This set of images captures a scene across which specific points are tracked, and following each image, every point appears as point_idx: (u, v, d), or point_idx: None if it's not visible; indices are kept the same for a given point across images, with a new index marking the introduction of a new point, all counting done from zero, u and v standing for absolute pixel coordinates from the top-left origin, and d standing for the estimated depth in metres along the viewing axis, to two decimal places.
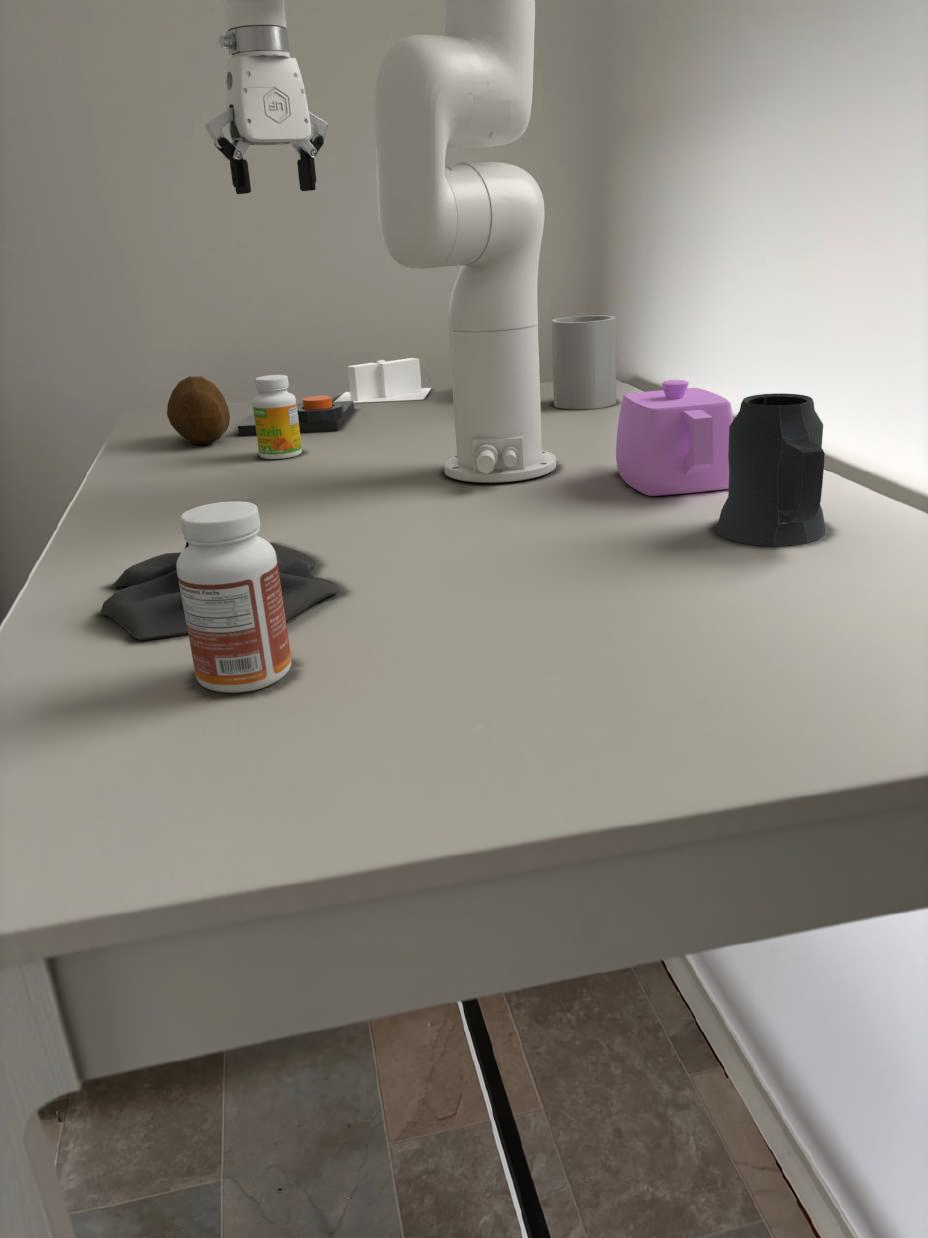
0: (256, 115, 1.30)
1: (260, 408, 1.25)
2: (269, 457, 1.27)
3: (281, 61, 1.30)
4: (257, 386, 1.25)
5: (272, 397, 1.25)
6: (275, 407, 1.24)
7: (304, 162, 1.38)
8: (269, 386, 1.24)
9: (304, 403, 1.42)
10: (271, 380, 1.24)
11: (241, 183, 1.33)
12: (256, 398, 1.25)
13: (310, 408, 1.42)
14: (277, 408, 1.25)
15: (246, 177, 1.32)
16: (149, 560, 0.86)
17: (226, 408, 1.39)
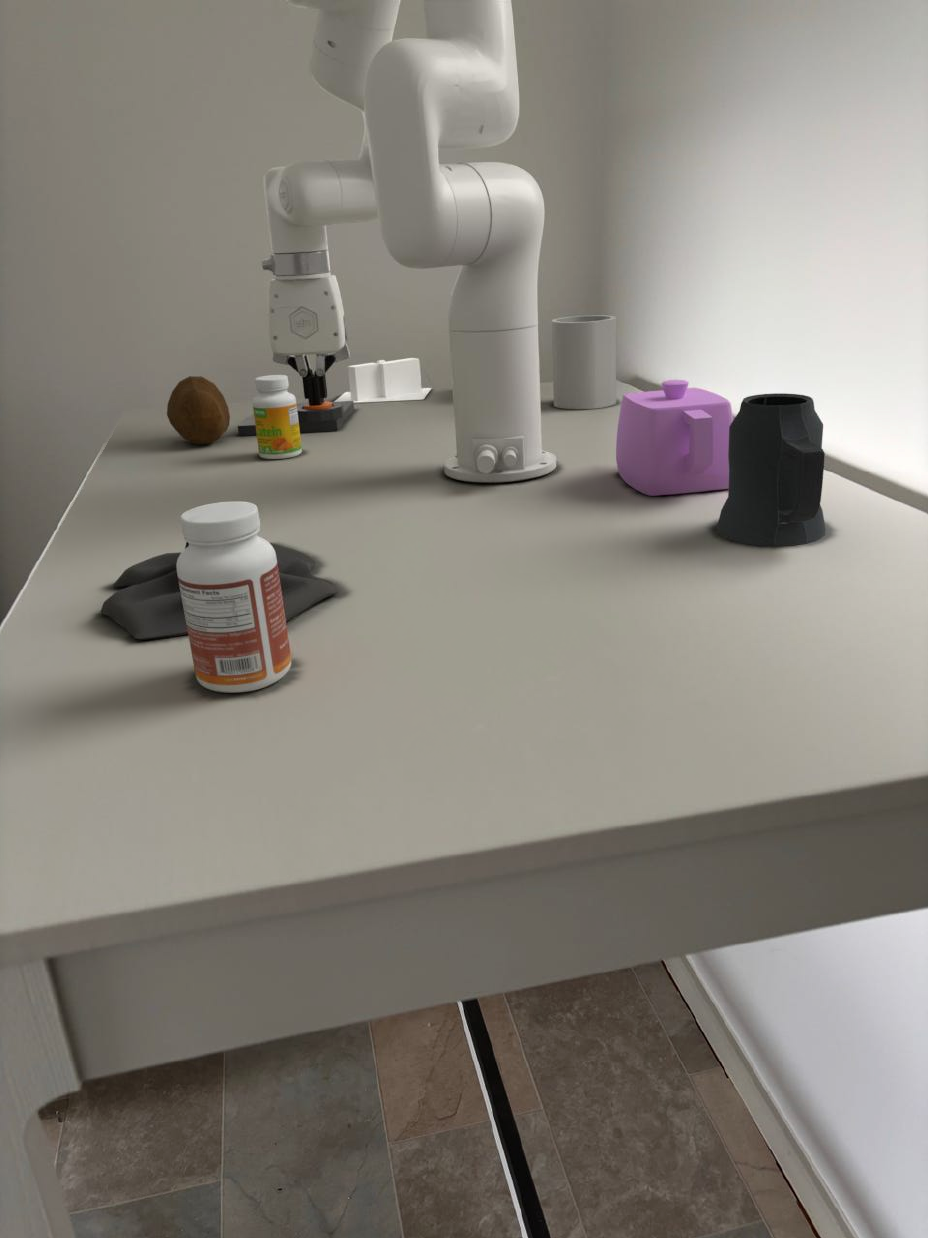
0: (282, 332, 1.38)
1: (260, 408, 1.25)
2: (269, 457, 1.27)
3: (310, 282, 1.35)
4: (257, 386, 1.25)
5: (272, 397, 1.25)
6: (275, 407, 1.24)
7: None
8: (269, 386, 1.24)
9: None
10: (271, 380, 1.24)
11: (307, 396, 1.43)
12: (256, 398, 1.25)
13: None
14: (277, 408, 1.25)
15: (309, 392, 1.42)
16: (149, 560, 0.86)
17: (226, 408, 1.39)
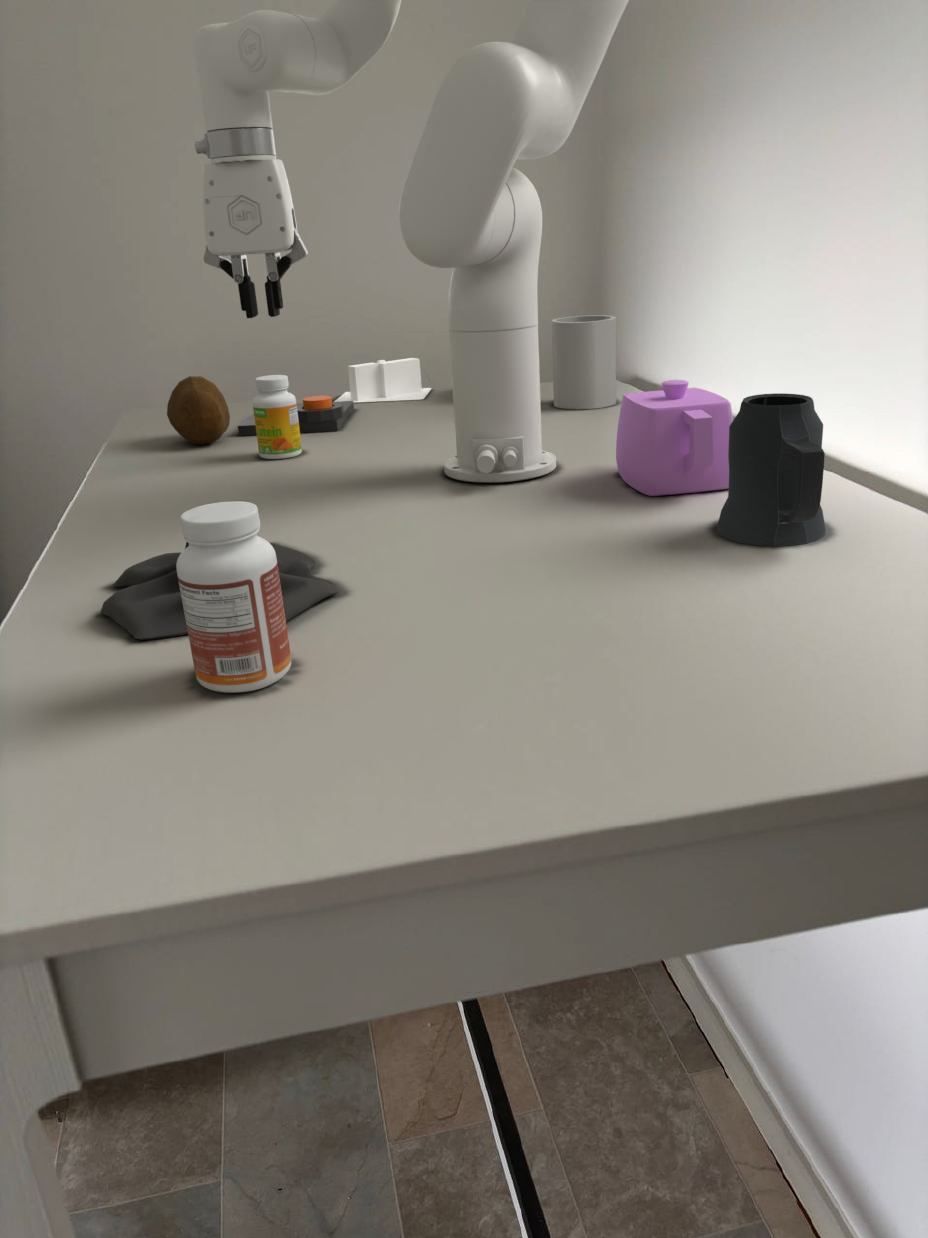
0: (220, 227, 1.17)
1: (260, 408, 1.25)
2: (269, 457, 1.27)
3: (251, 166, 1.14)
4: (257, 386, 1.25)
5: (272, 397, 1.25)
6: (275, 407, 1.24)
7: None
8: (269, 386, 1.24)
9: (304, 403, 1.42)
10: (271, 380, 1.24)
11: (245, 307, 1.22)
12: (256, 398, 1.25)
13: (310, 408, 1.42)
14: (277, 408, 1.25)
15: (246, 302, 1.21)
16: (149, 560, 0.86)
17: (226, 408, 1.39)
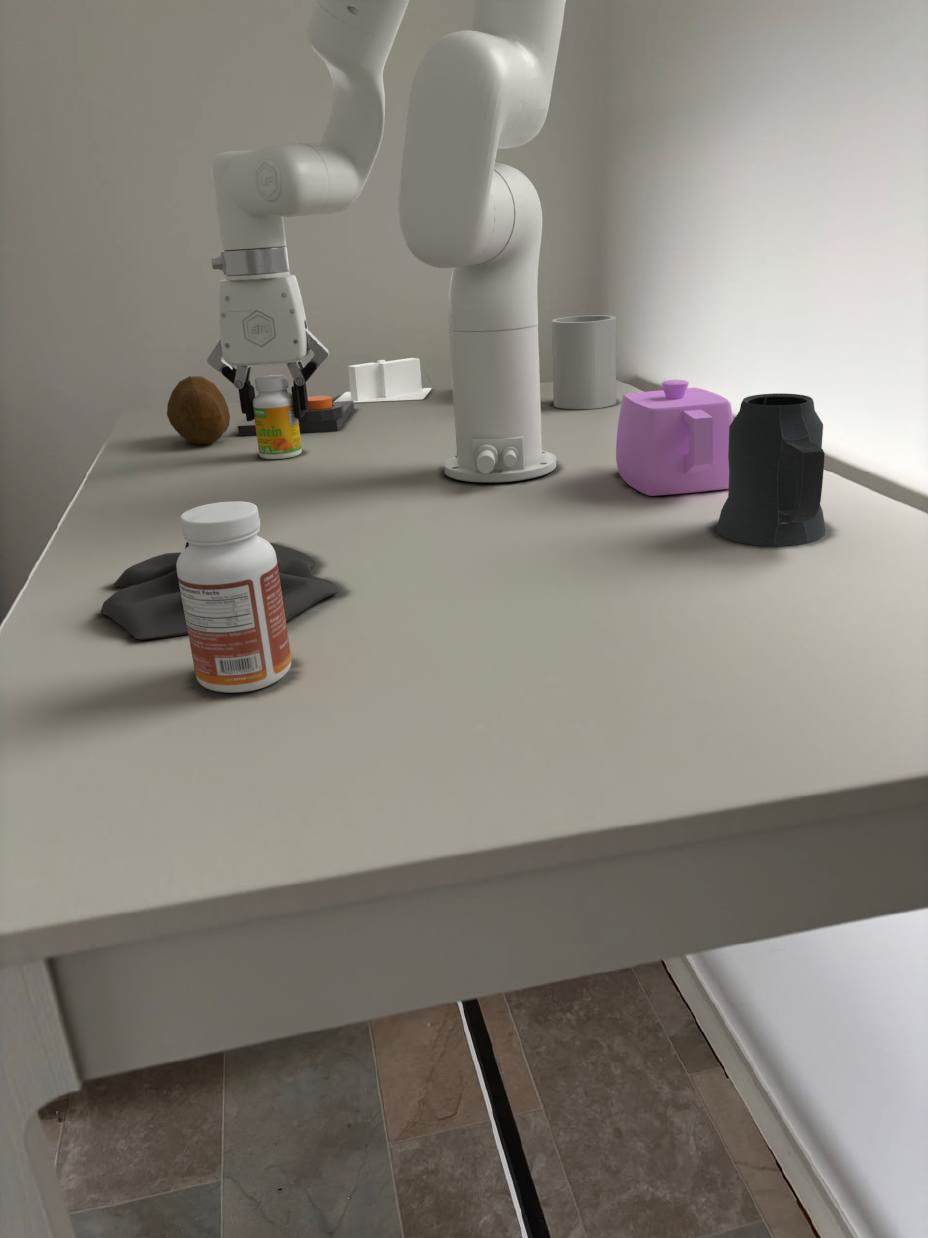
0: (235, 340, 1.22)
1: (260, 408, 1.25)
2: (269, 457, 1.27)
3: (266, 283, 1.19)
4: (257, 386, 1.25)
5: (272, 397, 1.25)
6: (275, 407, 1.24)
7: None
8: (269, 386, 1.24)
9: None
10: (271, 380, 1.24)
11: (245, 411, 1.27)
12: (256, 398, 1.25)
13: (310, 408, 1.42)
14: (277, 408, 1.25)
15: (246, 406, 1.26)
16: (149, 560, 0.86)
17: (226, 408, 1.39)
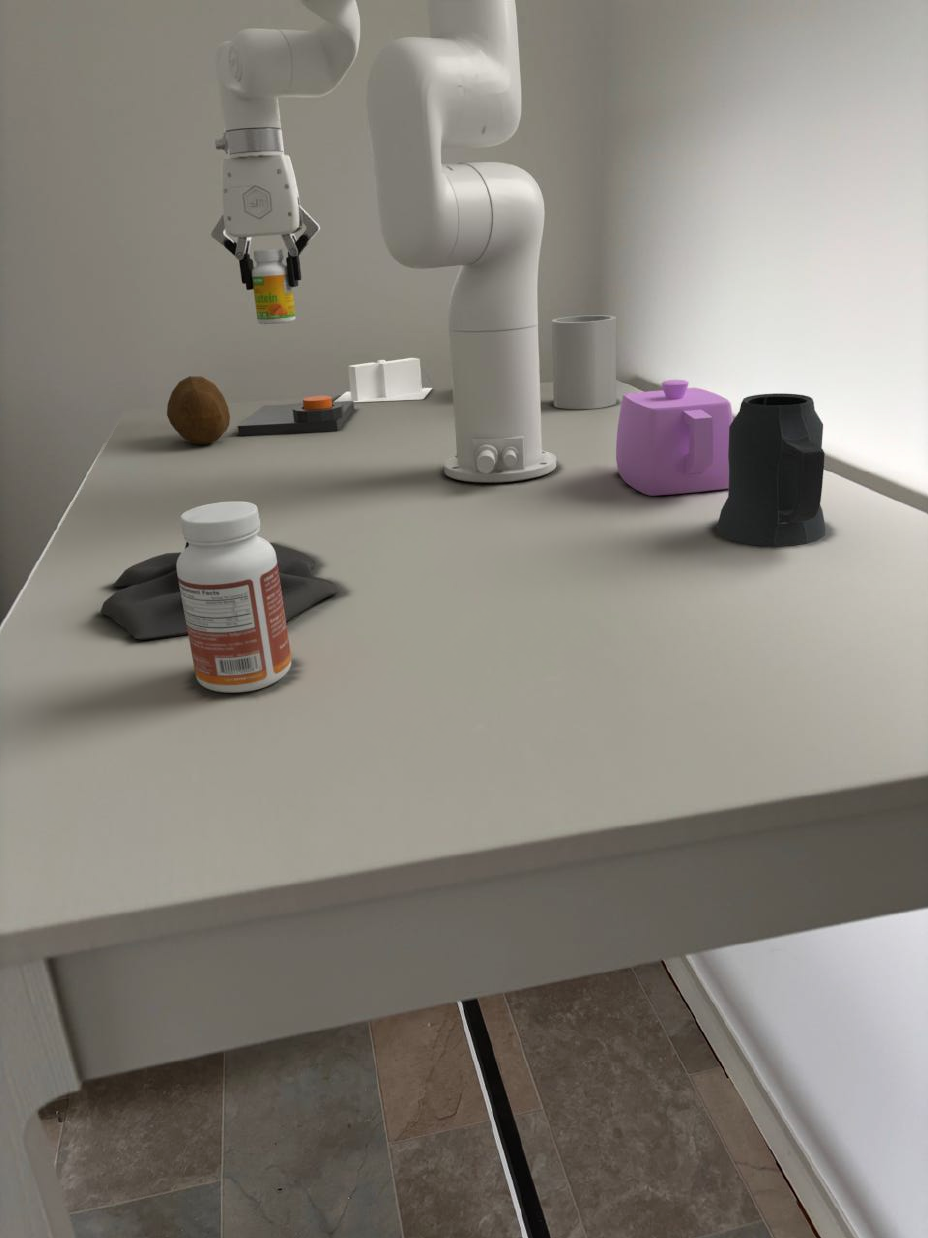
0: (236, 212, 1.37)
1: (258, 276, 1.40)
2: (266, 322, 1.43)
3: (263, 160, 1.35)
4: (255, 257, 1.41)
5: (269, 266, 1.40)
6: (272, 275, 1.40)
7: None
8: (266, 256, 1.40)
9: (304, 403, 1.42)
10: (268, 250, 1.40)
11: (245, 280, 1.42)
12: (254, 268, 1.41)
13: (310, 408, 1.42)
14: (273, 276, 1.40)
15: (246, 276, 1.41)
16: (149, 560, 0.86)
17: (226, 408, 1.39)
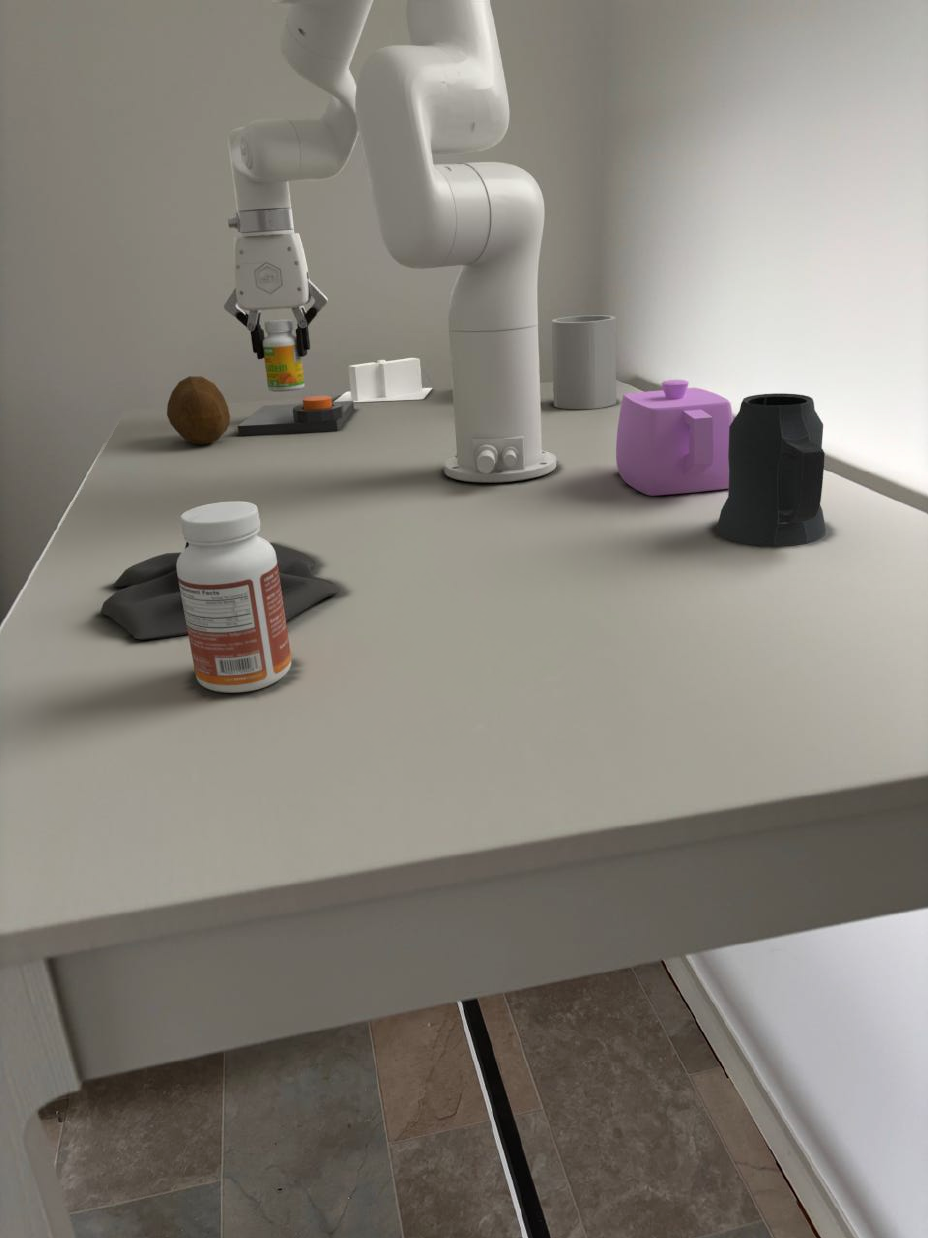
0: (248, 287, 1.43)
1: (269, 347, 1.47)
2: (276, 390, 1.49)
3: (274, 239, 1.41)
4: (266, 328, 1.47)
5: (279, 337, 1.46)
6: (282, 345, 1.46)
7: None
8: (276, 327, 1.46)
9: (304, 403, 1.42)
10: (278, 323, 1.46)
11: (256, 350, 1.48)
12: (265, 339, 1.47)
13: (310, 408, 1.42)
14: (283, 347, 1.46)
15: (257, 346, 1.47)
16: (149, 560, 0.86)
17: (226, 408, 1.39)
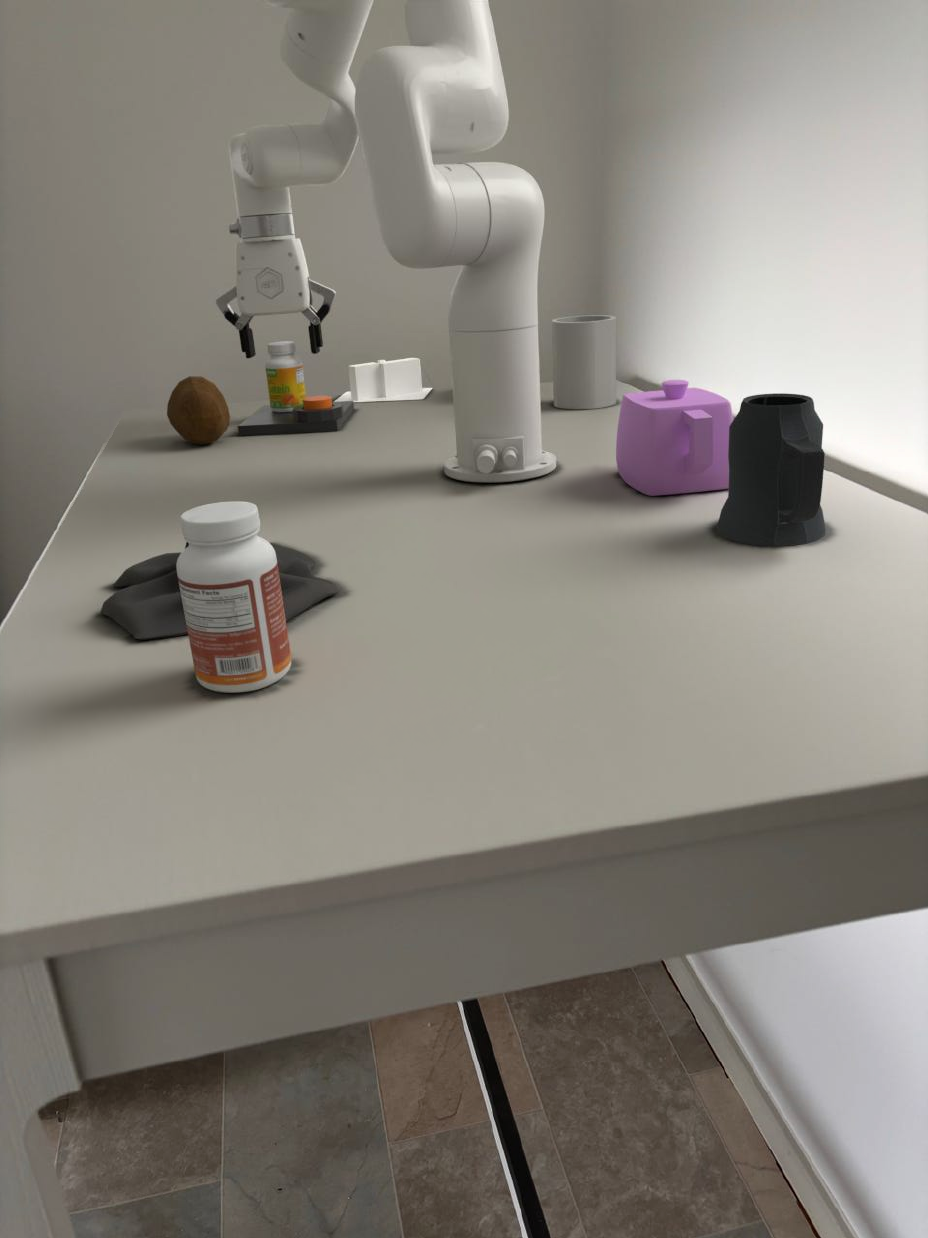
0: (249, 293, 1.43)
1: (272, 369, 1.48)
2: (279, 411, 1.50)
3: (275, 244, 1.41)
4: (269, 350, 1.48)
5: (282, 359, 1.47)
6: (284, 367, 1.47)
7: None
8: (279, 350, 1.47)
9: (304, 403, 1.42)
10: (281, 345, 1.47)
11: (244, 349, 1.48)
12: (268, 360, 1.48)
13: (310, 408, 1.42)
14: (286, 369, 1.47)
15: (245, 345, 1.47)
16: (149, 560, 0.86)
17: (226, 408, 1.39)
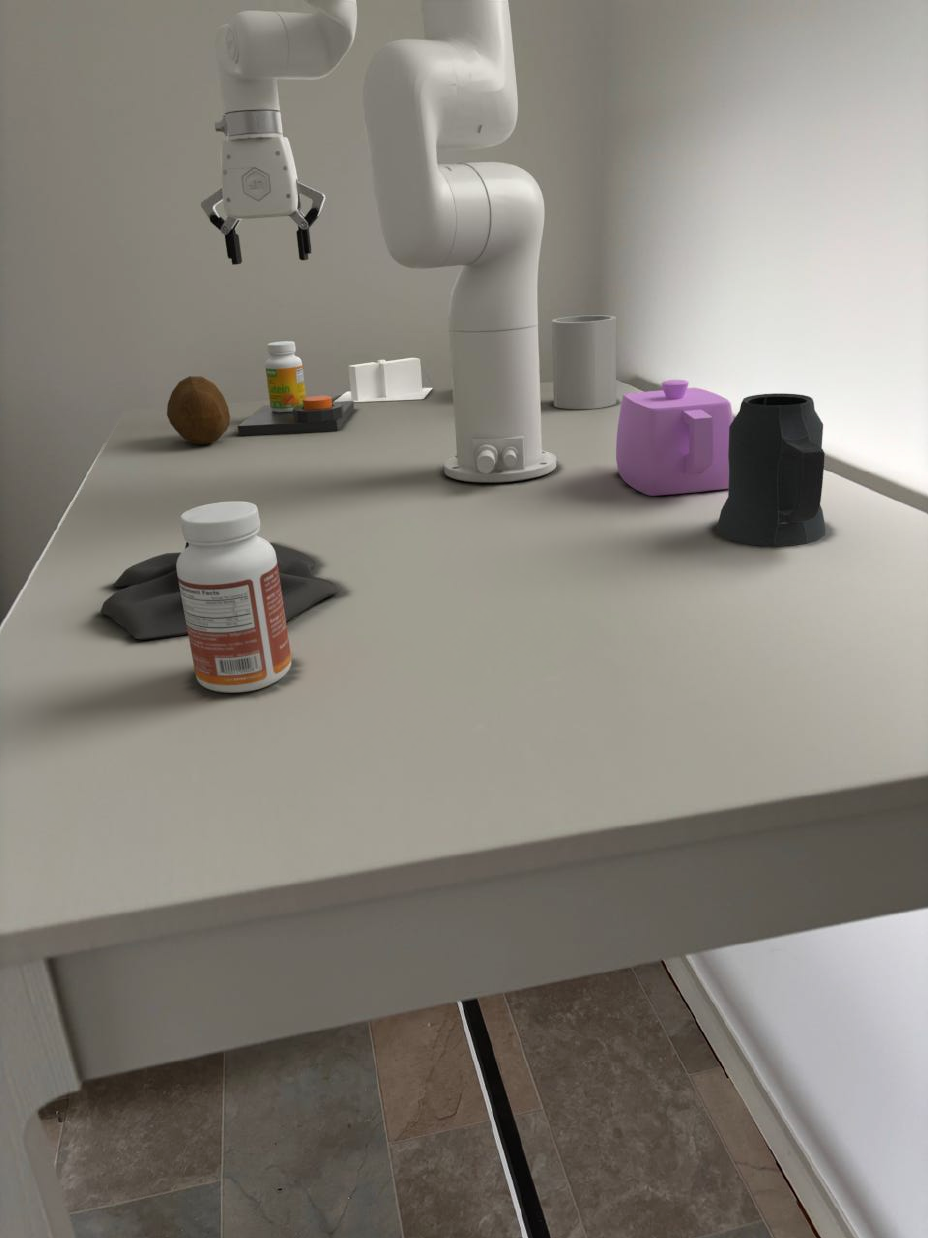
0: (235, 194, 1.39)
1: (272, 369, 1.48)
2: (279, 411, 1.50)
3: (262, 142, 1.36)
4: (269, 350, 1.48)
5: (282, 359, 1.47)
6: (284, 367, 1.47)
7: None
8: (279, 350, 1.47)
9: (304, 403, 1.42)
10: (281, 345, 1.47)
11: (230, 255, 1.44)
12: (268, 360, 1.48)
13: (310, 408, 1.42)
14: (286, 369, 1.47)
15: (231, 250, 1.43)
16: (149, 560, 0.86)
17: (226, 408, 1.39)
